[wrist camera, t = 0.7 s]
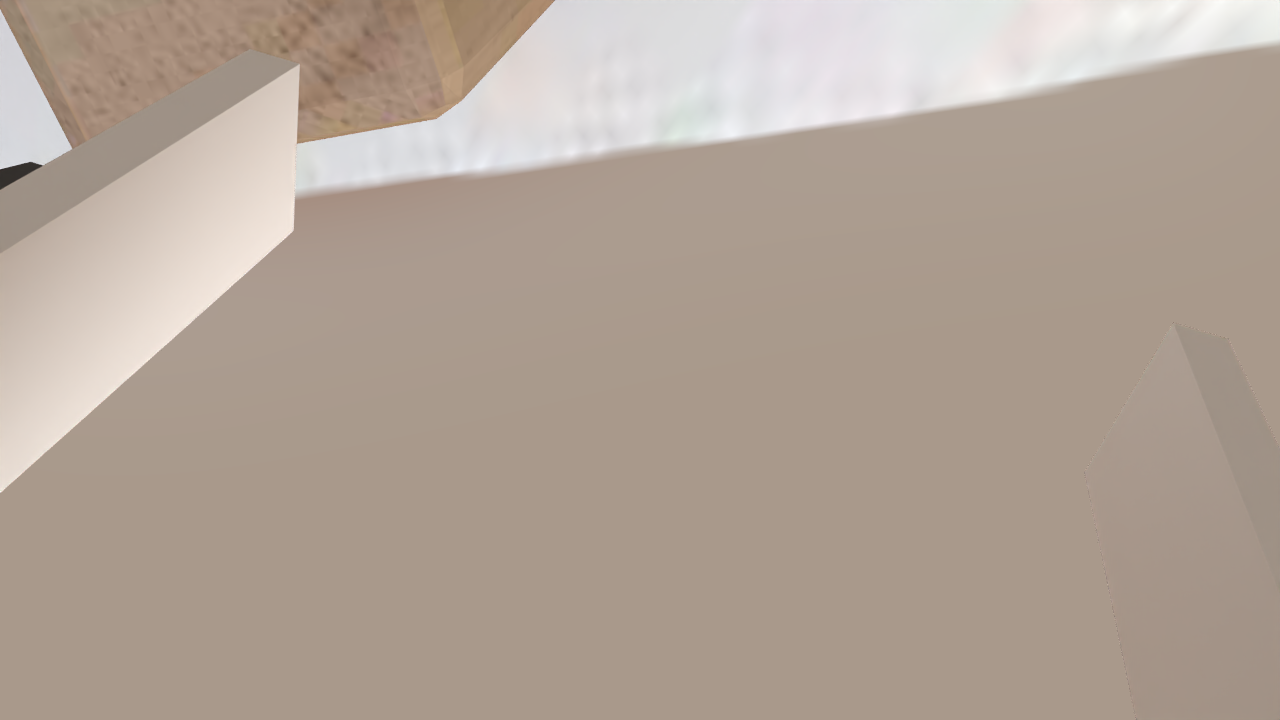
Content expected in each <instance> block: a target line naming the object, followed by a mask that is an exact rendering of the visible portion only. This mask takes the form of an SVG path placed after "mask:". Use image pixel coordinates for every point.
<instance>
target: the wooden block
mask: <svg viewBox="0 0 1280 720" xmlns="http://www.w3.org/2000/svg"><path fill="white" fill-rule="evenodd" d="M554 1H555V0H0V9H1V11H2V13H3V15H4V17H5V19H6V21H7V23H8V25H9V27H10V29H11V31H12V33H13V34H14V36H15V38H16V40H17V42H18V44H19V46H20V48H21V50H22V52H23V54H24V56H25V58H26V60H27V62H28V64H29V65H30V67H31V69H32V71H33V73H34V75H35V77H36V79H37V81H38V83H39V85H40V87H41V89H42V91H43V93H44V95H45V96H46V98H47V100H48V102H49V104H50V106H51V108H52V110H53V112H54V114H55V116H56V118H57V120H58V122H59V124H60V125H61V127H62V129H63V131H64V133H65V135H66V137H67V139H68V141H69V143H70V145H71V147H72V149H74V148H75V147H77V146H79V145H81V144H82V143H84V142H86V141H88V140H90V139H91V138H93V137H95V136H97V135H98V134H100V133H102V132H104V131H106V130H107V129H109V128H111V127H113V126H114V125H116V124H118V123H120V122H122V121H123V120H125V119H127V118H129V117H130V116H132V115H134V114H136V113H137V112H139V111H141V110H143V109H145V108H146V107H148V106H150V105H152V104H153V103H155V102H157V101H159V100H161V99H162V98H164V97H166V96H168V95H169V94H171V93H173V92H175V91H177V90H178V89H180V88H182V87H184V86H185V85H187V84H189V83H191V82H192V81H194V80H196V79H198V78H200V77H201V76H203V75H205V74H207V73H208V72H210V71H212V70H214V69H216V68H217V67H219V66H221V65H223V64H224V63H226V62H228V61H230V60H232V59H233V58H235V57H237V56H239V55H240V54H242V53H244V52H246V51H248V50H249V49H251V50H255V51H258V52H261V53H265V54H268V55H271V56H275V57H278V58H282V59H285V60H288V61H292V62H295V63H299V64H300V72H299V98H298V124H297V144H298V143H304V142H309V141H315V140H320V139H326V138H332V137H337V136H343V135H348V134H354V133H359V132H365V131H371V130H376V129H382V128H387V127H393V126H399V125H404V124H410V123H415V122H421V121H427V120H432V119H437V118H438V117H439V116H441V115H442V114H444V113H445V112H446V111H448V110H449V109H451V108H452V107H453V106H455V105H456V104H458V103H459V102H460V101H462V100H463V98H464V97H465V96H466V95H467V94H468V93H469V92H470V91H471V90H472V89H473V88H474V87H475V86H476V85H477V83H478V82H479V81H480V80H481V79H482V78H483V77H484V76H485V75H486V74H487V73H488V72H489V71H490V69H491V68H492V67H493V66H494V65H495V64H496V63H497V62H498V61H499V60H500V59H501V58H502V57H503V56H504V54H505V53H506V52H507V51H508V50H509V49H510V48H511V47H512V46H513V45H514V44H515V43H516V42H517V40H518V39H519V38H520V37H521V36H522V35H523V34H524V33H525V32H526V31H527V30H528V29H529V28H530V27H531V25H532V24H533V23H534V22H535V21H536V20H537V19H538V18H539V17H540V16H541V15H542V14H543V13H544V11H545V10H546V9H547V8H548V7H549V6H550V5H551V4H552V3H553V2H554Z"/></svg>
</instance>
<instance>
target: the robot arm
mask: <svg viewBox="0 0 1280 720" xmlns="http://www.w3.org/2000/svg"><path fill="white" fill-rule="evenodd" d="M299 72H300V64H299V63H295V62H292V61H288V60H285V59H282V58H278V57H275V56H271V55H268V54H265V53H261V52H258V51H255V50H251V49H249V50H248V51H246V52H244V53H242V54H240V55H239V56H237V57H235V58H233V59H232V60H230V61H228V62H226V63H224V64H223V65H221V66H219V67H217V68H216V69H214V70H212V71H210V72H208V73H207V74H205V75H203V76H201V77H200V78H198V79H196V80H194V81H192V82H191V83H189V84H187V85H185V86H184V87H182V88H180V89H178V90H177V91H175V92H173V93H171V94H169V95H168V96H166V97H164V98H162V99H161V100H159V101H157V102H155V103H153V104H152V105H150V106H148V107H146V108H145V109H143V110H141V111H139V112H137V113H136V114H134V115H132V116H130V117H129V118H127V119H125V120H123V121H122V122H120V123H118V124H116V125H114V126H113V127H111V128H109V129H107V130H106V131H104V132H102V133H100V134H98V135H97V136H95V137H93V138H91V139H90V140H88V141H86V142H84V143H82V144H81V145H79V146H77V147H75V148H74V149H72V150H70V151H68V152H66V153H65V154H63V155H61V156H59V157H58V158H56V159H54V160H52V161H51V162H49V163H47V164H45V165H43V166H42V165H39V164H36V163H33V162H28V163H24V164H20V165H16V166H12V167H8V168H4V169H0V492H2V491H3V490H4V489H5V488H6V487H7V486H8V485H9V484H11V483H12V482H13V481H14V480H15V479H16V478H17V477H19V475H21V474H22V473H23V472H24V471H25V470H26V469H27V468H28V467H30V466H31V465H32V464H33V463H34V462H35V461H36V460H37V459H39V458H40V457H41V456H42V455H43V454H44V453H45V452H46V451H48V450H49V449H50V448H51V447H52V446H53V445H54V444H55V443H56V442H58V441H59V440H60V439H61V438H62V437H63V436H64V435H65V434H67V433H68V432H69V431H70V430H71V429H72V428H73V427H74V426H76V425H77V424H78V423H79V422H80V421H81V420H82V419H83V418H84V417H86V416H87V415H88V414H89V413H90V412H91V411H92V410H93V409H95V408H96V407H97V406H98V405H99V404H100V403H101V402H102V401H104V400H105V399H106V398H107V397H108V396H109V395H110V394H111V393H112V392H114V391H115V390H116V389H117V388H118V387H119V386H120V385H121V384H122V383H123V382H125V381H126V380H127V379H128V378H129V377H130V376H132V375H133V374H134V373H135V372H136V371H137V370H138V369H139V368H140V367H141V366H143V365H144V364H145V363H146V362H147V361H148V360H149V359H151V357H153V356H154V355H155V354H156V353H157V352H158V351H159V350H160V349H162V348H163V347H164V346H165V345H166V344H167V343H168V342H170V341H171V340H172V339H173V338H174V337H175V336H176V335H177V334H178V333H180V332H181V331H182V330H183V329H184V328H185V327H186V326H187V325H189V324H190V323H191V322H192V321H193V320H194V319H195V318H196V317H198V315H200V314H201V313H202V312H203V311H204V310H205V309H206V308H208V307H209V306H210V305H211V304H212V303H213V302H214V301H215V300H217V299H218V298H219V297H220V296H221V295H222V294H223V293H224V292H225V291H227V290H228V289H229V288H230V287H231V286H232V285H233V284H234V283H236V282H237V281H238V280H239V279H240V278H241V277H242V276H243V275H245V273H247V272H248V271H249V270H250V269H251V268H252V267H253V266H255V265H256V264H257V263H258V262H259V261H260V260H261V259H262V258H263V257H265V256H266V255H267V254H268V253H269V252H270V251H271V250H272V249H274V248H275V247H276V246H277V245H278V244H279V243H280V242H281V241H283V239H285V238H286V237H287V236H288V235H289V234H290V233H291V232H292V231H293V228H294V202H295V176H296V150H297V124H298V98H299ZM1084 474H1085V478H1086V483H1087V488H1088V493H1089V498H1090V502H1091V507H1092V512H1093V517H1094V521H1095V526H1096V531H1097V536H1098V541H1099V545H1100V550H1101V555H1102V560H1103V564H1104V569H1105V574H1106V579H1107V584H1108V589H1109V593H1110V598H1111V603H1112V608H1113V613H1114V617H1115V621H1116V627H1117V632H1118V636H1119V641H1120V646H1121V651H1122V656H1123V660H1124V665H1125V670H1126V675H1127V680H1128V684H1129V689H1130V693H1131V699H1132V703H1133V708H1134V713H1135V718H1136V720H1280V448H1279V446H1278V444H1277V441H1276V439H1275V437H1274V435H1273V433H1272V431H1271V429H1270V426H1269V424H1268V423H1267V420H1266V418H1265V416H1264V414H1263V412H1262V409H1261V407H1260V405H1259V403H1258V401H1257V399H1256V397H1255V394H1254V392H1253V390H1252V388H1251V386H1250V384H1249V382H1248V379H1247V377H1246V375H1245V373H1244V371H1243V369H1242V367H1241V364H1240V362H1239V360H1238V358H1237V356H1236V354H1235V352H1234V349H1233V347H1232V345H1231V343H1230V341H1229V339H1228V338H1224V337H1221V336H1217V335H1214V334H1211V333H1207V332H1204V331H1200V330H1197V329H1194V328H1190V327H1187V326H1183V325H1181V324H1177V323H1174V322H1173V323H1172V325H1171V327H1170V329H1169V330H1168V332H1167V334H1166V335H1165V337H1164V339H1163V340H1162V342H1161V344H1160V345H1159V347H1158V349H1157V350H1156V352H1155V354H1154V356H1153V357H1152V359H1151V361H1150V362H1149V364H1148V366H1147V367H1146V369H1145V371H1144V373H1143V374H1142V376H1141V377H1140V379H1139V381H1138V383H1137V384H1136V386H1135V388H1134V389H1133V391H1132V393H1131V394H1130V396H1129V398H1128V399H1127V401H1126V403H1125V404H1124V406H1123V408H1122V410H1121V411H1120V413H1119V415H1118V416H1117V418H1116V420H1115V421H1114V423H1113V425H1112V426H1111V428H1110V430H1109V432H1108V433H1107V435H1106V437H1105V438H1104V440H1103V442H1102V443H1101V445H1100V447H1099V449H1098V450H1097V452H1096V453H1095V455H1094V457H1093V459H1092V460H1091V462H1090V464H1089V465H1088V467H1087V469H1086V470H1085V472H1084Z"/></svg>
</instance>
